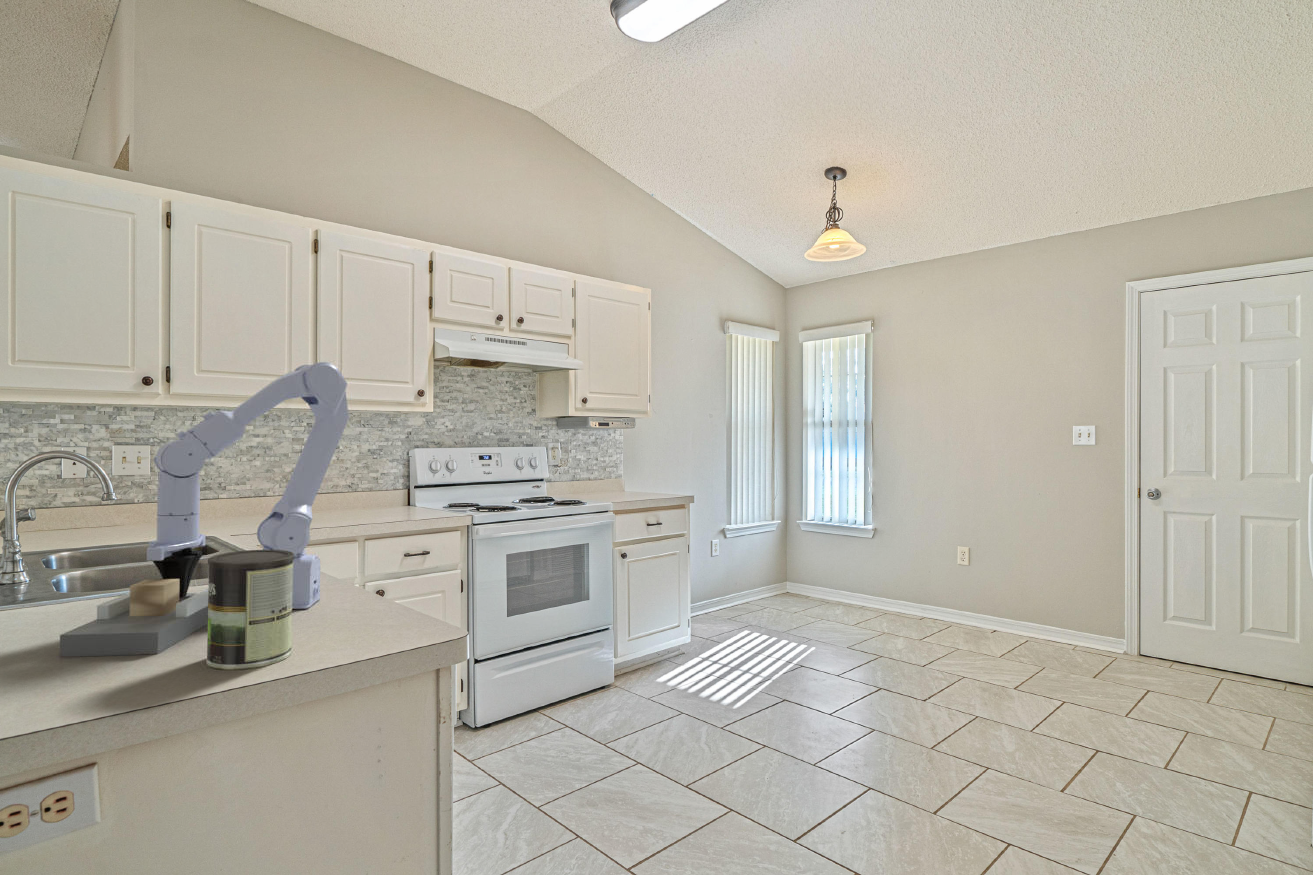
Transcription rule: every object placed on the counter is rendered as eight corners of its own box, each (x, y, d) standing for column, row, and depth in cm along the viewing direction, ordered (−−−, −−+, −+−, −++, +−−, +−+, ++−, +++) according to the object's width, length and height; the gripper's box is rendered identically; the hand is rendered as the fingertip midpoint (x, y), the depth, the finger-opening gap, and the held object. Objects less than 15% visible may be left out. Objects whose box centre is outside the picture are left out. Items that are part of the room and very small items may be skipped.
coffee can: (198, 674, 89) (200, 564, 88) (214, 650, 98) (215, 551, 98) (289, 665, 93) (291, 560, 93) (295, 643, 102) (297, 547, 102)
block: (179, 607, 109) (179, 578, 109) (163, 615, 104) (164, 585, 104) (146, 608, 108) (147, 579, 108) (129, 616, 104) (130, 585, 104)
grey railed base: (232, 609, 120) (232, 581, 120) (157, 653, 96) (158, 617, 96) (155, 611, 118) (155, 582, 118) (59, 657, 94) (60, 620, 94)
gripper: (174, 509, 119) (173, 587, 119) (125, 519, 105) (123, 608, 105) (219, 509, 120) (217, 586, 121) (176, 519, 106) (174, 607, 106)
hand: (177, 597), depth 113 cm, fingers closed
